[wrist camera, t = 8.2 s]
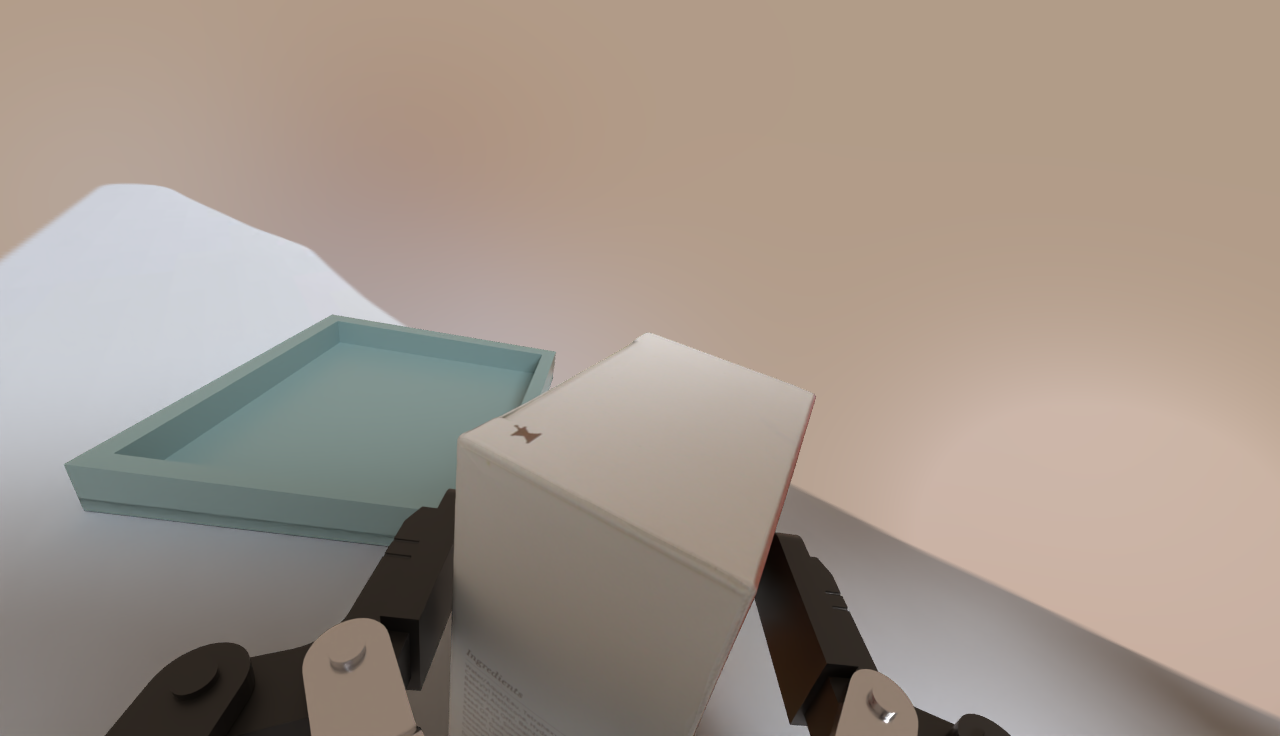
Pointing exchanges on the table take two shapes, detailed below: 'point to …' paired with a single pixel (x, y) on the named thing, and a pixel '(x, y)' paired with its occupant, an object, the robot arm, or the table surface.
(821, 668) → the robot arm
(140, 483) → the tray
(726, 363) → the small box
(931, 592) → the table surface
